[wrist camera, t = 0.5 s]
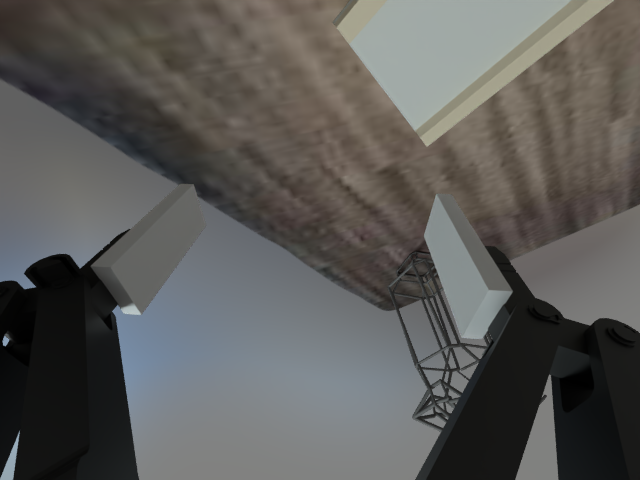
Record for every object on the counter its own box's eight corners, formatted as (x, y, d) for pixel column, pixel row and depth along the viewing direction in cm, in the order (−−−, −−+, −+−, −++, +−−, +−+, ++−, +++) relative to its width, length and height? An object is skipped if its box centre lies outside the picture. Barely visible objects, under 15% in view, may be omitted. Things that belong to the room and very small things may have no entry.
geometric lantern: (423, 287, 71) (490, 456, 47) (371, 277, 66) (416, 461, 42) (467, 249, 61) (580, 442, 37) (409, 234, 56) (496, 445, 32)
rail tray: (332, 22, 29) (336, 27, 27) (556, -258, 19) (591, -286, 17) (419, 136, 40) (426, 146, 38) (592, -6, 30) (617, -3, 28)
